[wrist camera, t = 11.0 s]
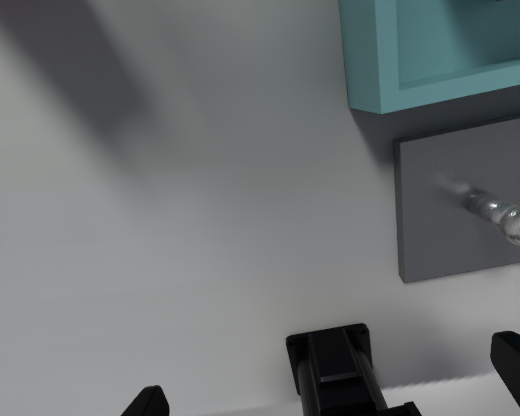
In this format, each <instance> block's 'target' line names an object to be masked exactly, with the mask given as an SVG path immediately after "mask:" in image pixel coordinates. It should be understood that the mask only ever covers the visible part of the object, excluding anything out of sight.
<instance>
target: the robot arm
mask: <svg viewBox="0 0 520 416" xmlns="http://www.w3.org/2000/svg"><path fill="white" fill-rule="evenodd" d="M360 330H362V331H360ZM292 342H293V343H292ZM286 346H287V351H288V355H289V359H290V363H291V368H292V372H293V376H294V381H295V385H296V389H297V393H298V395H300V396H301V401H302V407H303V414H304V416H422V415H421V414H420V412H419V410H418V409H417V407H416V406H415V404H414V402H413V401H411V402H407V403H404V405H401V406H397V407H392V408H388V407H387V405H386V402H385V399H384V397H383V395H382V392H381V390H380V387H379V385H378V383H377V380H376V378H375V375H374V373H373V370H372V359H371V349H370V339H369V330H368V328H367V326H366V325H365V324H363V323H360V324H354V325H348V326H342V327H337V328H331V329H325V330H319V331H313V332H308V333H302V334H296V335H290V336H288V337H287V338H286ZM490 358H491V361H492V364H493V366H494V368H495V369H496V371H497V372H498V374H499V375H500V377H501V379H502V380H503V382H504V383H505V385H506V386H507V388H508V390H509V391H510V393H511V394H512V396H513V398H514V399H515V401H516V402H517V404H518V405H519V407H520V335H519V334H517V333H515V332H513V331H503V332H497V333H494V334H493V336H492V343H491V353H490ZM169 412H170V410H169V404H168V402H167V399H166V397H165V395H164V392H163V390H162V388H161V387H160V386H159V385H155V386H148V387H145V388H144V389H143V390H142V391H141V392H140V393H139V394H138V396H137V397H136V398H135V399H134V400H133V401H132V403H131V404H130V405H129V406H128V407H127V409H126V410H125V411H124V412H123V413H122V415H121V416H169Z"/></svg>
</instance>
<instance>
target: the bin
mask: <svg viewBox="0 0 520 416" xmlns="http://www.w3.org/2000/svg"><path fill="white" fill-rule="evenodd" d="M338 1H339V11H340V22H341V32H342V43H343V54H344V64H345V75H346V85H347V96H348V106H349V108H354V109H359V110H364V111H368V112H373V113H378V114H385V113H389V112H394V111H399V110H403V109H408V108H413V107H417V106H422V105H427V104H431V103H436V102H441V101H445V100H450V99H455V98H459V97H464V96H469V95H474V94H478V93H483V92H488V91H492V90H497V89H502V88H506V87H511V86H516V85H520V0H501V1H498V2H497V1H496V0H338Z"/></svg>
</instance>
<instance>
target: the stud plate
mask: <svg viewBox="0 0 520 416" xmlns="http://www.w3.org/2000/svg"><path fill="white" fill-rule="evenodd" d="M393 153H394V175H395V197H396V219H397V241H398V263H399V275H400V277H401V278H402V279H403V280H404V282H405V283H407V282H412V281H418V280H424V279H429V278H435V277H440V276H446V275H452V274H457V273H463V272H468V271H474V270H479V269H485V268H491V267H496V266H502V265H507V264H513V263H519V262H520V114H517V115H513V116H508V117H503V118H498V119H493V120H488V121H484V122H479V123H474V124H469V125H464V126H460V127H455V128H450V129H445V130H440V131H436V132H431V133H426V134H421V135H416V136H411V137H407V138H402V139H397V140H393Z"/></svg>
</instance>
